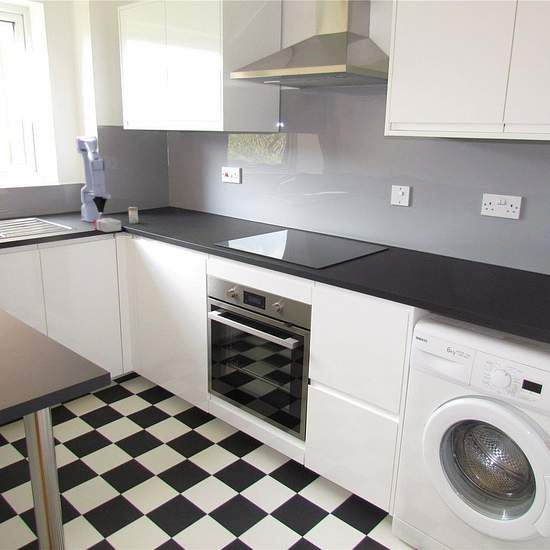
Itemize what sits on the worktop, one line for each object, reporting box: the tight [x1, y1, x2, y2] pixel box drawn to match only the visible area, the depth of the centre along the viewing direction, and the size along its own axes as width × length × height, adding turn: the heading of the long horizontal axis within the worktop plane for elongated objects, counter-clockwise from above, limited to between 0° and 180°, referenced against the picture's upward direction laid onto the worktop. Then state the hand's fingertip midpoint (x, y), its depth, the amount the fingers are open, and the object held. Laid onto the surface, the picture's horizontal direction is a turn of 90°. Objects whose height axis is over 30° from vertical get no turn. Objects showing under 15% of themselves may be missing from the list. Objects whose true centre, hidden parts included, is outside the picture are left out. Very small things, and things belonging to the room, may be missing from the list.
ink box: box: [93, 217, 122, 233], centre depth 258 cm, size 8×5×12 cm
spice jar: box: [127, 206, 139, 224], centre depth 279 cm, size 5×5×8 cm
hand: (100, 212), depth 262 cm, fingers closed
